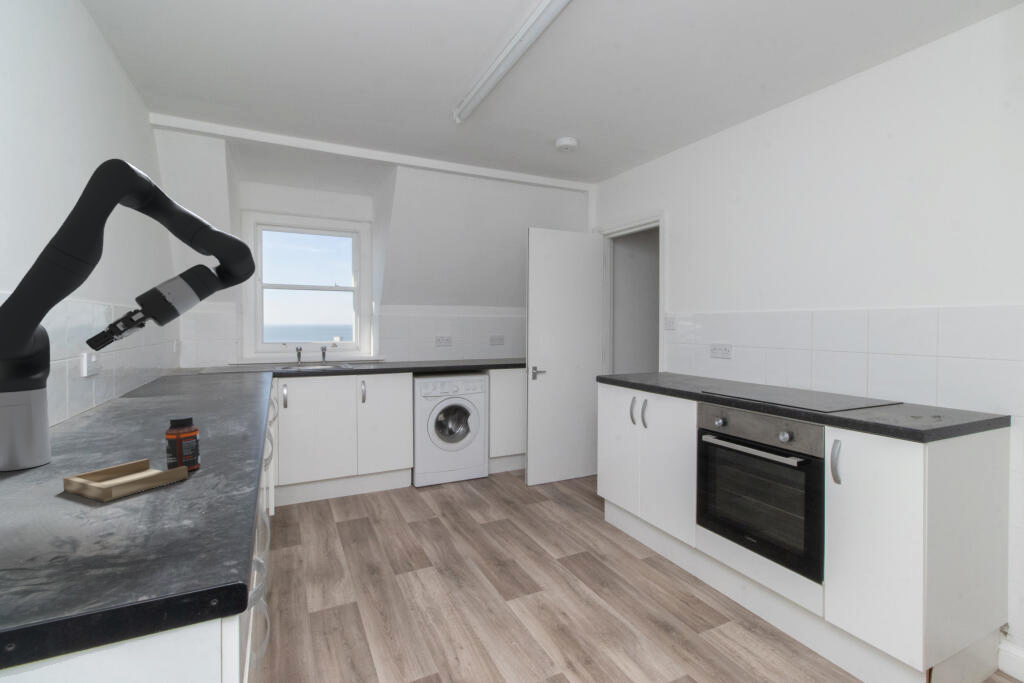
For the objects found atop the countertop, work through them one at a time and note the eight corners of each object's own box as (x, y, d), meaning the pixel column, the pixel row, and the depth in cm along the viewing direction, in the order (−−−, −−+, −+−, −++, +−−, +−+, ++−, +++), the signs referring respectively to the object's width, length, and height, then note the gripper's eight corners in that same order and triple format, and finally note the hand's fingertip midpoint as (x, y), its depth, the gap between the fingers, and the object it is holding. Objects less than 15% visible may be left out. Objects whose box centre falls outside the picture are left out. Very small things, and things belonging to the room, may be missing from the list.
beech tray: (63, 490, 93) (63, 477, 93) (146, 470, 105) (146, 458, 105) (104, 502, 86) (103, 488, 86) (187, 478, 98) (187, 466, 98)
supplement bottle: (207, 465, 107) (204, 414, 107) (186, 474, 101) (183, 420, 101) (182, 465, 108) (179, 414, 108) (160, 474, 102) (157, 420, 102)
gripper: (154, 290, 110) (78, 334, 102) (156, 281, 99) (71, 329, 91) (179, 317, 113) (106, 362, 105) (184, 311, 102) (104, 361, 93)
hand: (90, 347), depth 98 cm, fingers open, 8 cm apart
